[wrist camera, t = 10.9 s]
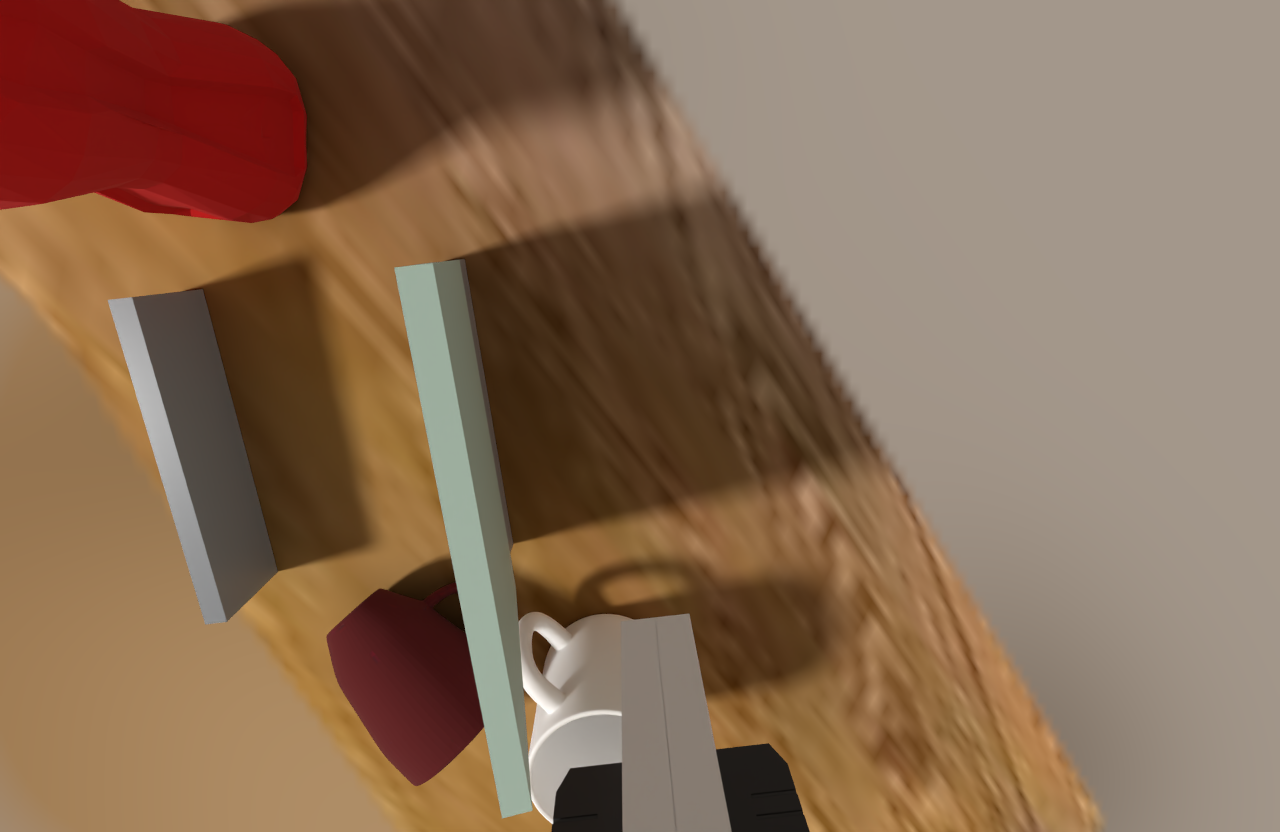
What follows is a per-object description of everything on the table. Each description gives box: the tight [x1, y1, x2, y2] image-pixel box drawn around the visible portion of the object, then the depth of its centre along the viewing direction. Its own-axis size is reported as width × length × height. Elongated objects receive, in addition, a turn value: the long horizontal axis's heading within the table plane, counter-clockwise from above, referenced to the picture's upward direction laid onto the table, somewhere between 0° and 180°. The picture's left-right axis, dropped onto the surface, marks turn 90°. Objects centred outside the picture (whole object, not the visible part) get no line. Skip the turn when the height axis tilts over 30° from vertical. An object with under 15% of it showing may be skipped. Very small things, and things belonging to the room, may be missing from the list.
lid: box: [394, 260, 532, 818], centre depth 29 cm, size 18×16×1 cm
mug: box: [327, 582, 484, 786], centre depth 42 cm, size 10×8×10 cm
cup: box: [518, 612, 633, 824], centre depth 41 cm, size 8×12×10 cm
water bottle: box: [0, 0, 307, 223], centre depth 26 cm, size 9×11×25 cm
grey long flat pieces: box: [108, 259, 513, 624], centre depth 39 cm, size 18×16×6 cm
